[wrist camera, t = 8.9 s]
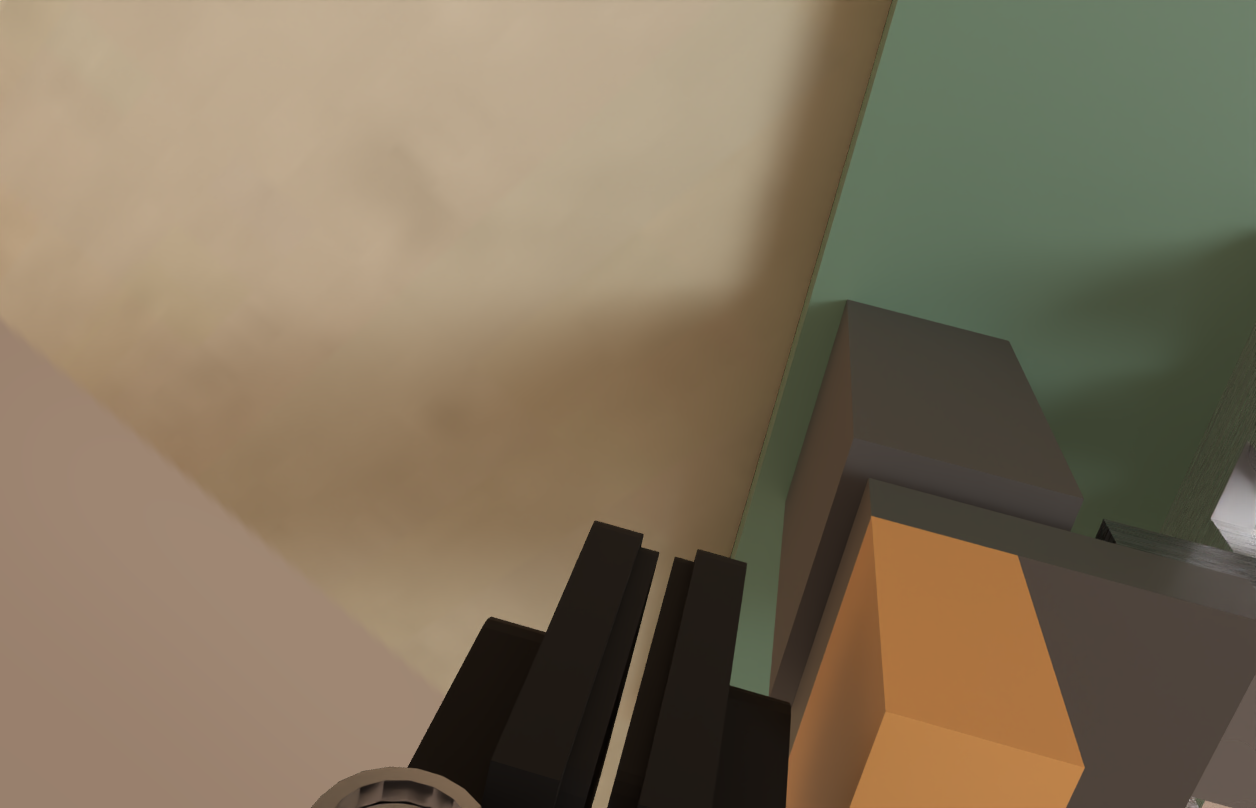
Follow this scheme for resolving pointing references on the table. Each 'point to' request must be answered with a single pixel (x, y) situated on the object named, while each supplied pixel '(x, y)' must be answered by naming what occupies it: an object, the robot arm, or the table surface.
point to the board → (1012, 286)
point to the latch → (1012, 666)
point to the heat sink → (1223, 478)
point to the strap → (1252, 744)
